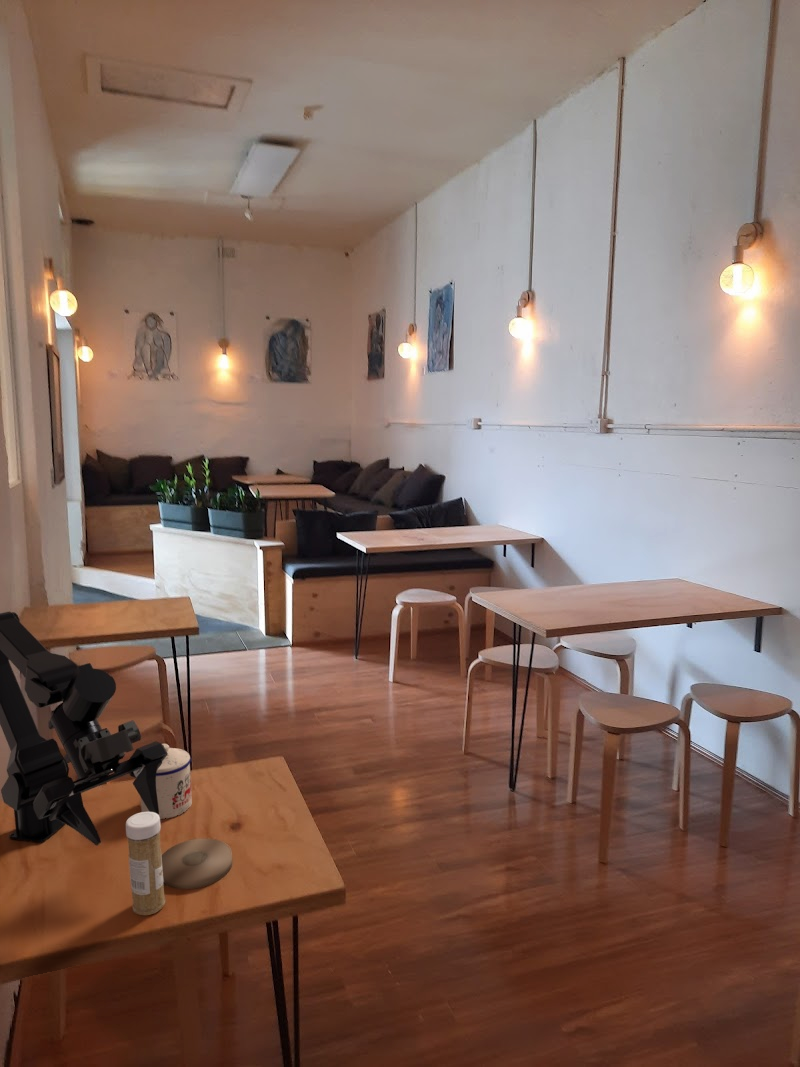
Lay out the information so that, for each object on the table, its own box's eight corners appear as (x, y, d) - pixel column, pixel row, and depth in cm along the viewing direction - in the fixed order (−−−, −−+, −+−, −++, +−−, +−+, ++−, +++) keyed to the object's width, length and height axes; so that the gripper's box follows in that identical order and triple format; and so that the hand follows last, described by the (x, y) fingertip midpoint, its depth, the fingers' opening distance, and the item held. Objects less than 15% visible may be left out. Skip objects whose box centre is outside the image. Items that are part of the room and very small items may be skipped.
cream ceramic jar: (182, 821, 129) (178, 757, 128) (131, 820, 130) (126, 756, 128) (205, 787, 141) (202, 728, 139) (158, 786, 142) (154, 727, 140)
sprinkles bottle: (172, 905, 107) (166, 817, 105) (143, 921, 104) (136, 831, 102) (154, 892, 110) (148, 806, 108) (125, 908, 107) (118, 819, 105)
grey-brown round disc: (144, 884, 112) (143, 875, 112) (181, 843, 123) (180, 835, 123) (212, 893, 110) (211, 884, 109) (243, 851, 120) (243, 842, 120)
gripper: (35, 730, 101) (84, 833, 96) (156, 690, 116) (205, 778, 111) (13, 769, 107) (59, 868, 102) (131, 727, 122) (176, 812, 117)
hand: (128, 829), depth 108 cm, fingers open, 9 cm apart
